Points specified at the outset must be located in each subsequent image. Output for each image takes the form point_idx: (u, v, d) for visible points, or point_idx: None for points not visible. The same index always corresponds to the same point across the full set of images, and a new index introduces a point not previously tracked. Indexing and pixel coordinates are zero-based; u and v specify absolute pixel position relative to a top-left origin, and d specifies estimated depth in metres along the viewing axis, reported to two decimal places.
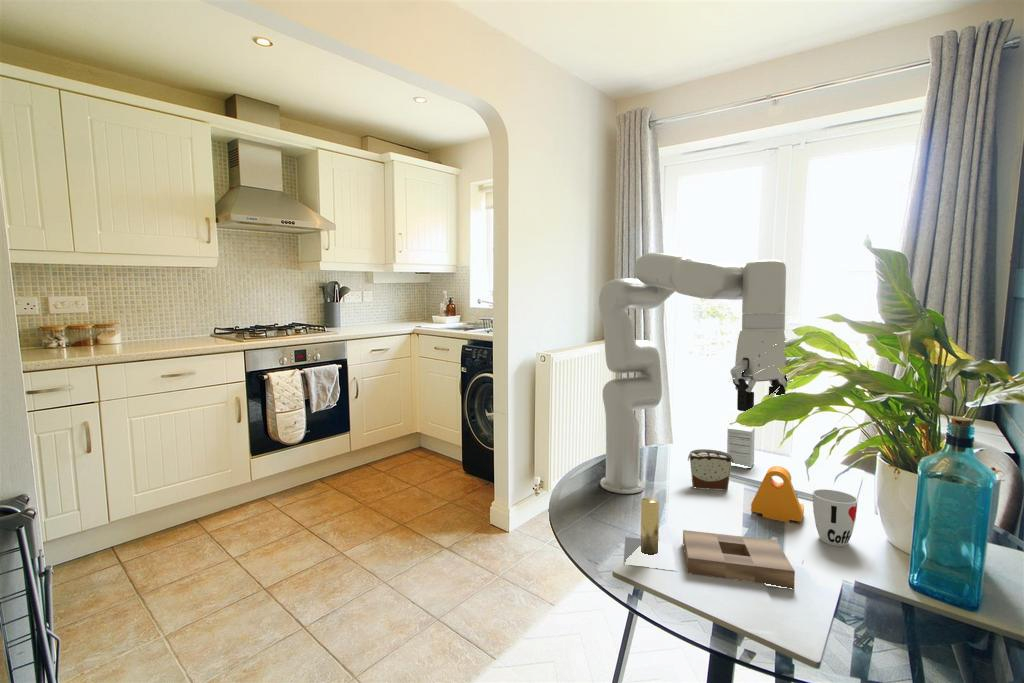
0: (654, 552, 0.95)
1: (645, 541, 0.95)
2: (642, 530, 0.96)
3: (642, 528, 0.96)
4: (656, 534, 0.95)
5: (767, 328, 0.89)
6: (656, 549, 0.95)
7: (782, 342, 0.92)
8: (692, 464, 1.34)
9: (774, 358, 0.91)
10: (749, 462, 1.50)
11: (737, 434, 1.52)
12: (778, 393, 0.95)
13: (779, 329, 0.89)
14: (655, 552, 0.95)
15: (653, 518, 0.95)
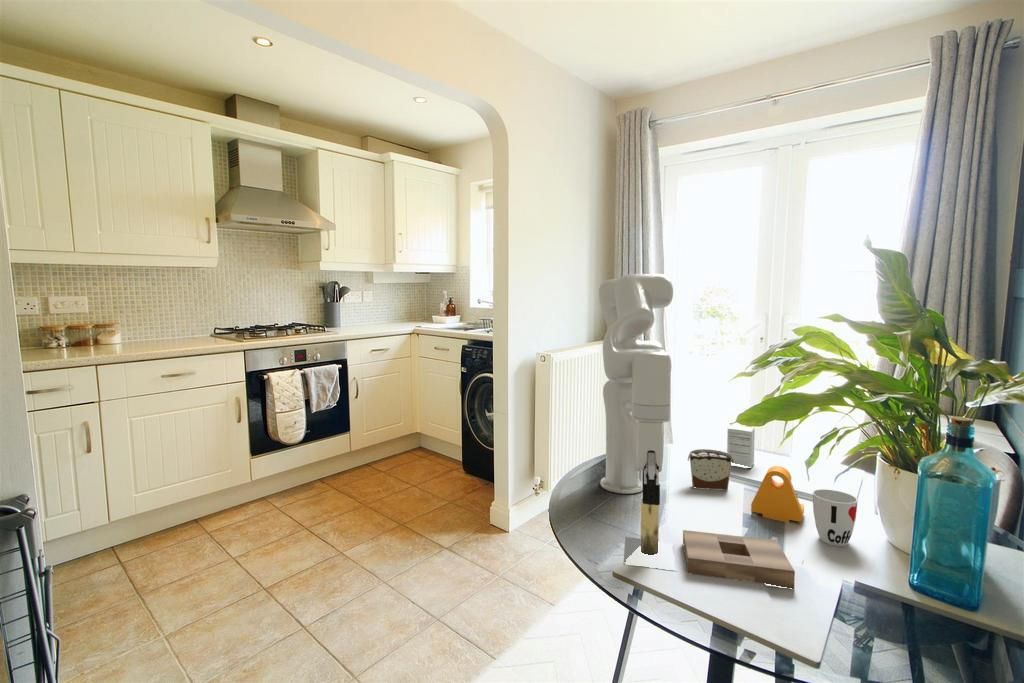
0: (654, 552, 0.95)
1: (645, 541, 0.95)
2: (642, 530, 0.96)
3: (642, 528, 0.96)
4: (656, 534, 0.95)
5: (665, 419, 0.92)
6: (656, 549, 0.95)
7: None
8: (692, 464, 1.34)
9: None
10: (749, 462, 1.50)
11: (737, 434, 1.52)
12: None
13: None
14: (655, 552, 0.95)
15: (653, 517, 0.95)
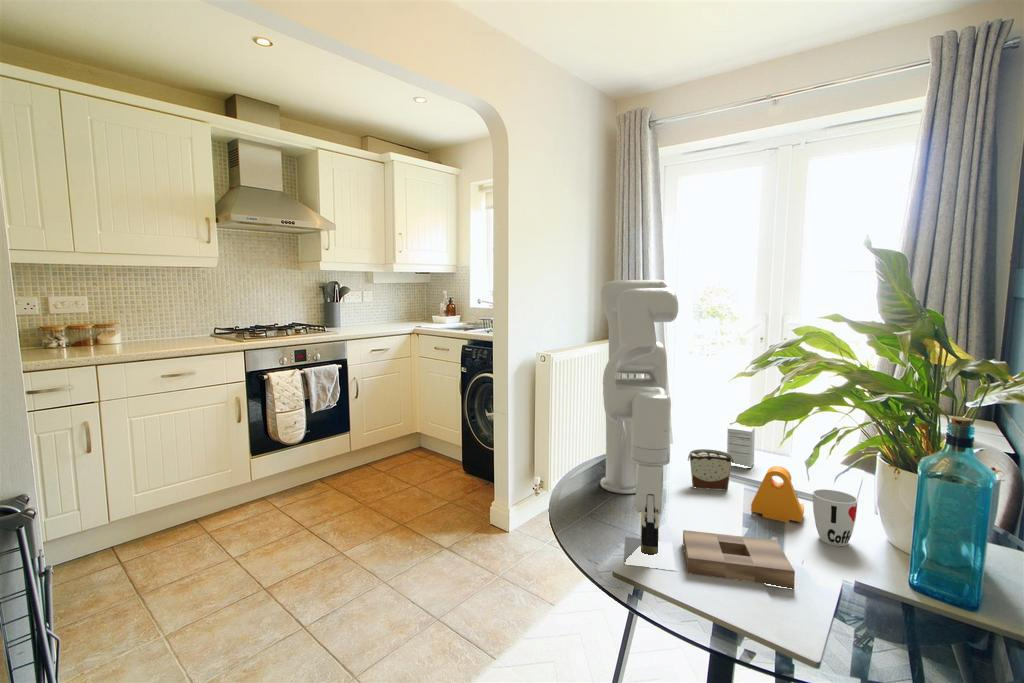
0: (654, 552, 0.95)
1: None
2: None
3: None
4: None
5: (664, 462, 0.93)
6: (656, 549, 0.95)
7: None
8: (692, 464, 1.34)
9: None
10: (749, 462, 1.50)
11: (737, 434, 1.52)
12: None
13: (669, 460, 0.94)
14: (655, 552, 0.95)
15: None
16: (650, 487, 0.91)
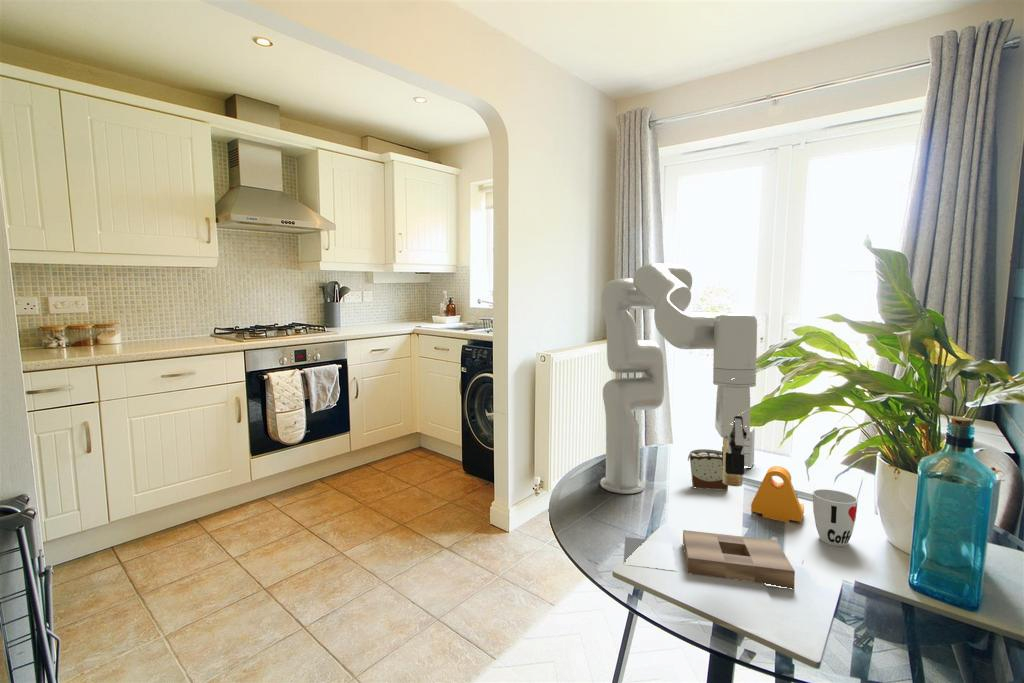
0: (739, 481, 0.90)
1: None
2: (725, 458, 0.91)
3: (725, 456, 0.91)
4: None
5: (752, 384, 0.88)
6: (741, 478, 0.90)
7: None
8: (692, 464, 1.34)
9: None
10: (749, 462, 1.50)
11: None
12: None
13: None
14: (740, 481, 0.90)
15: None
16: (738, 409, 0.86)
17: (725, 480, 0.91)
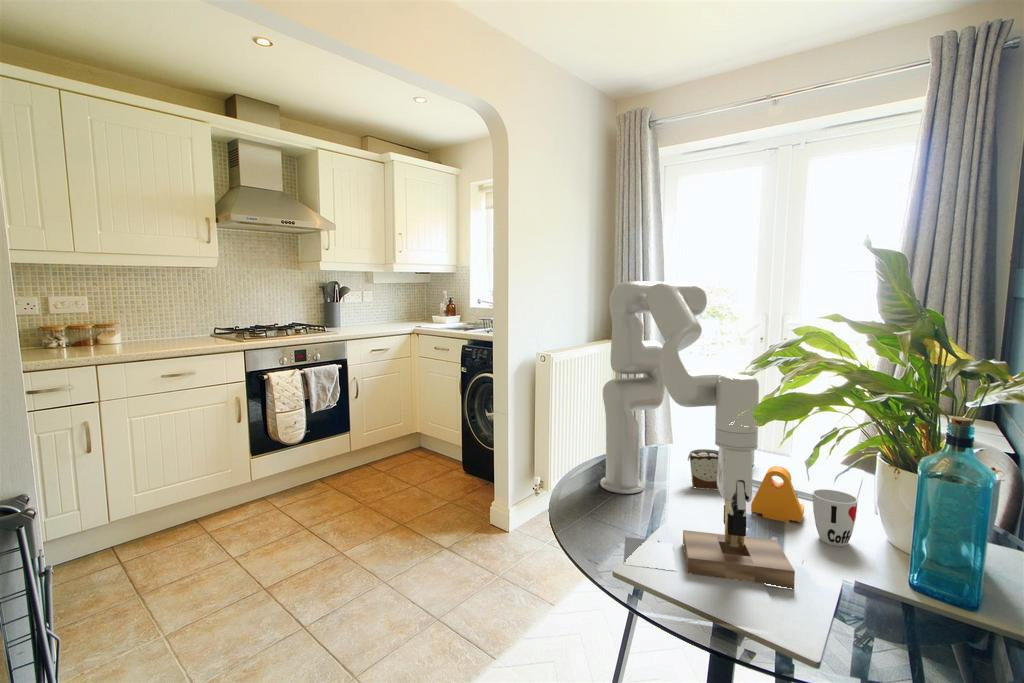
0: (741, 542, 0.91)
1: None
2: (727, 519, 0.92)
3: (727, 517, 0.92)
4: None
5: (754, 447, 0.88)
6: (743, 539, 0.91)
7: None
8: (692, 464, 1.34)
9: None
10: None
11: None
12: None
13: (757, 445, 0.90)
14: (742, 542, 0.91)
15: None
16: (740, 473, 0.87)
17: (727, 540, 0.92)
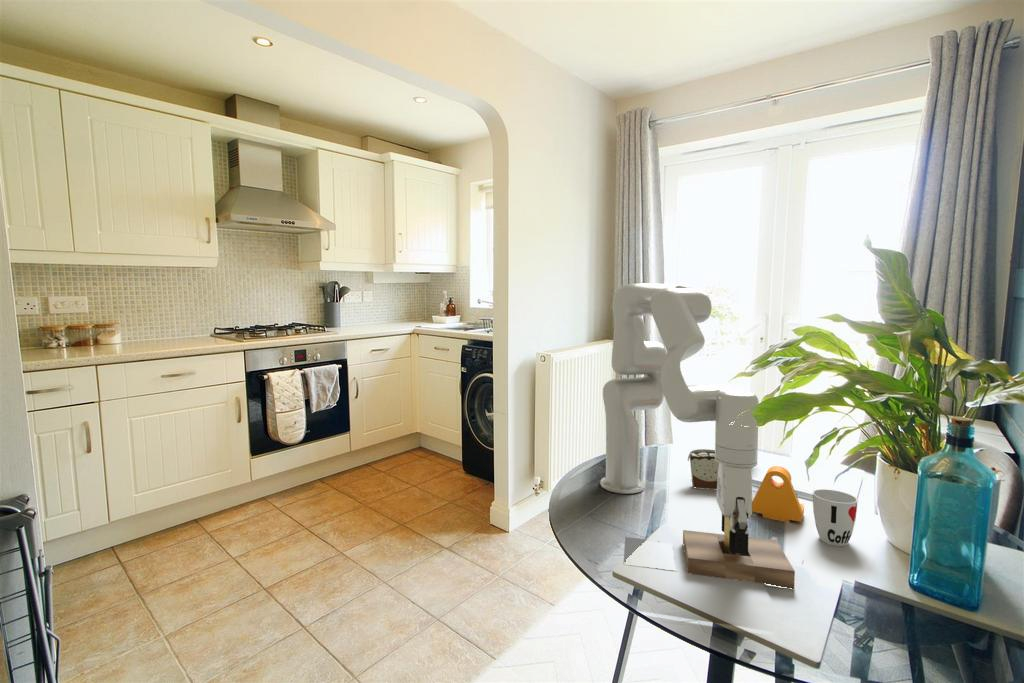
0: None
1: (730, 553, 0.91)
2: (726, 542, 0.92)
3: (726, 540, 0.92)
4: None
5: (753, 464, 0.88)
6: None
7: None
8: (692, 464, 1.34)
9: None
10: None
11: None
12: None
13: None
14: None
15: None
16: (740, 490, 0.87)
17: None
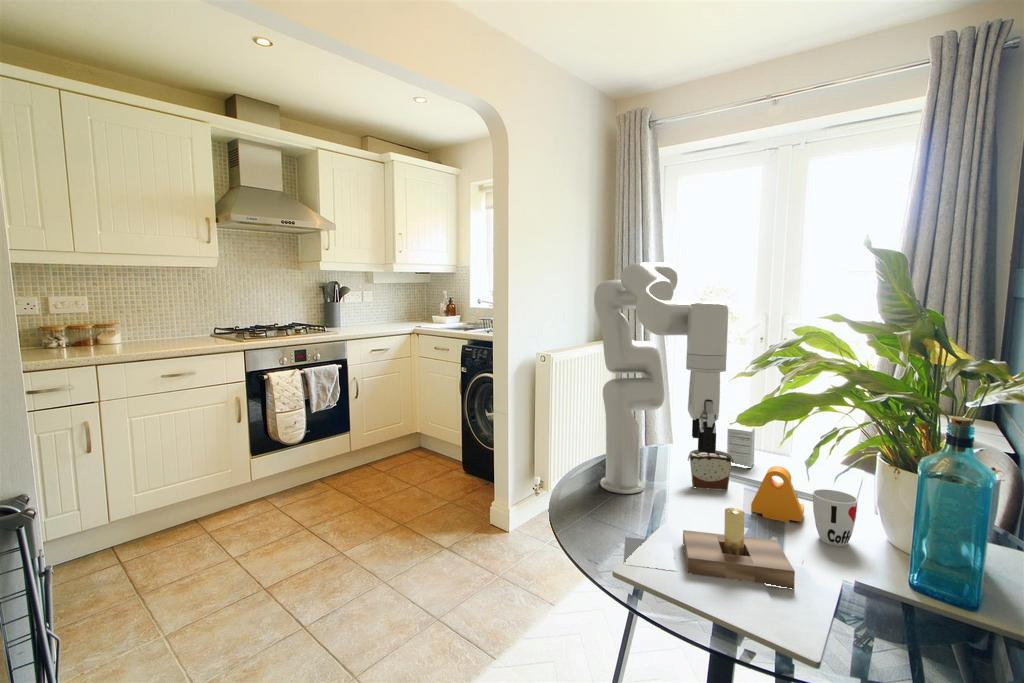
0: None
1: (730, 553, 0.91)
2: (726, 542, 0.92)
3: (726, 540, 0.92)
4: (742, 546, 0.91)
5: (722, 369, 0.92)
6: None
7: None
8: (692, 464, 1.34)
9: None
10: (749, 462, 1.50)
11: (737, 434, 1.52)
12: (703, 425, 1.01)
13: (725, 369, 0.94)
14: None
15: (739, 529, 0.90)
16: (708, 393, 0.91)
17: None
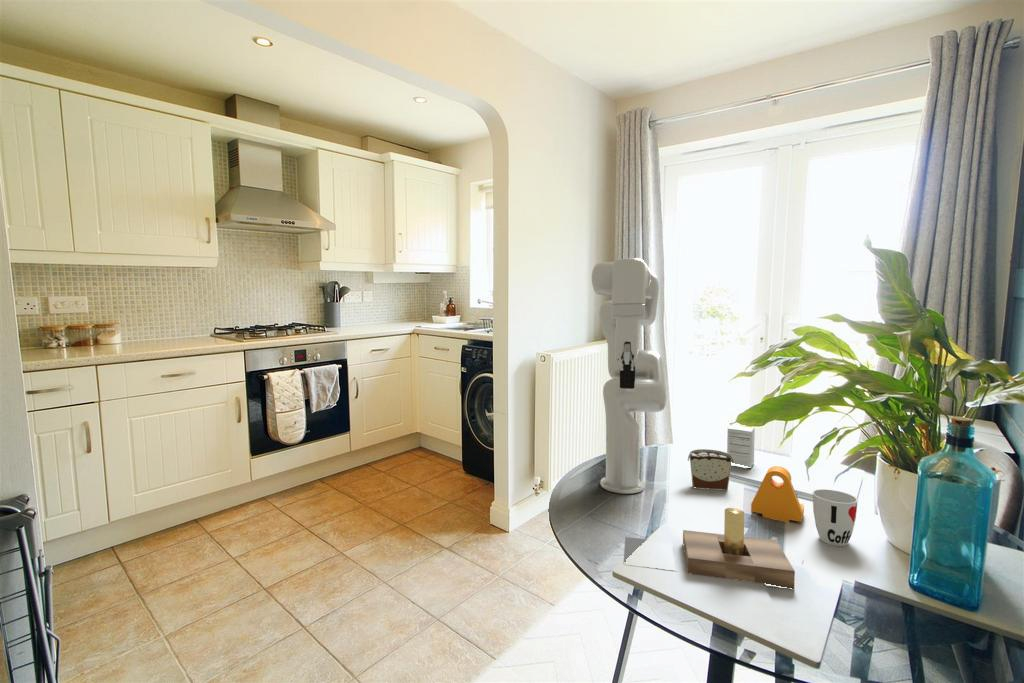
0: None
1: (730, 553, 0.91)
2: (726, 542, 0.92)
3: (726, 540, 0.92)
4: (742, 546, 0.91)
5: (640, 316, 1.06)
6: None
7: None
8: (692, 464, 1.34)
9: None
10: (749, 462, 1.50)
11: (737, 434, 1.52)
12: None
13: (644, 317, 1.08)
14: None
15: (739, 529, 0.90)
16: (627, 335, 1.05)
17: None
